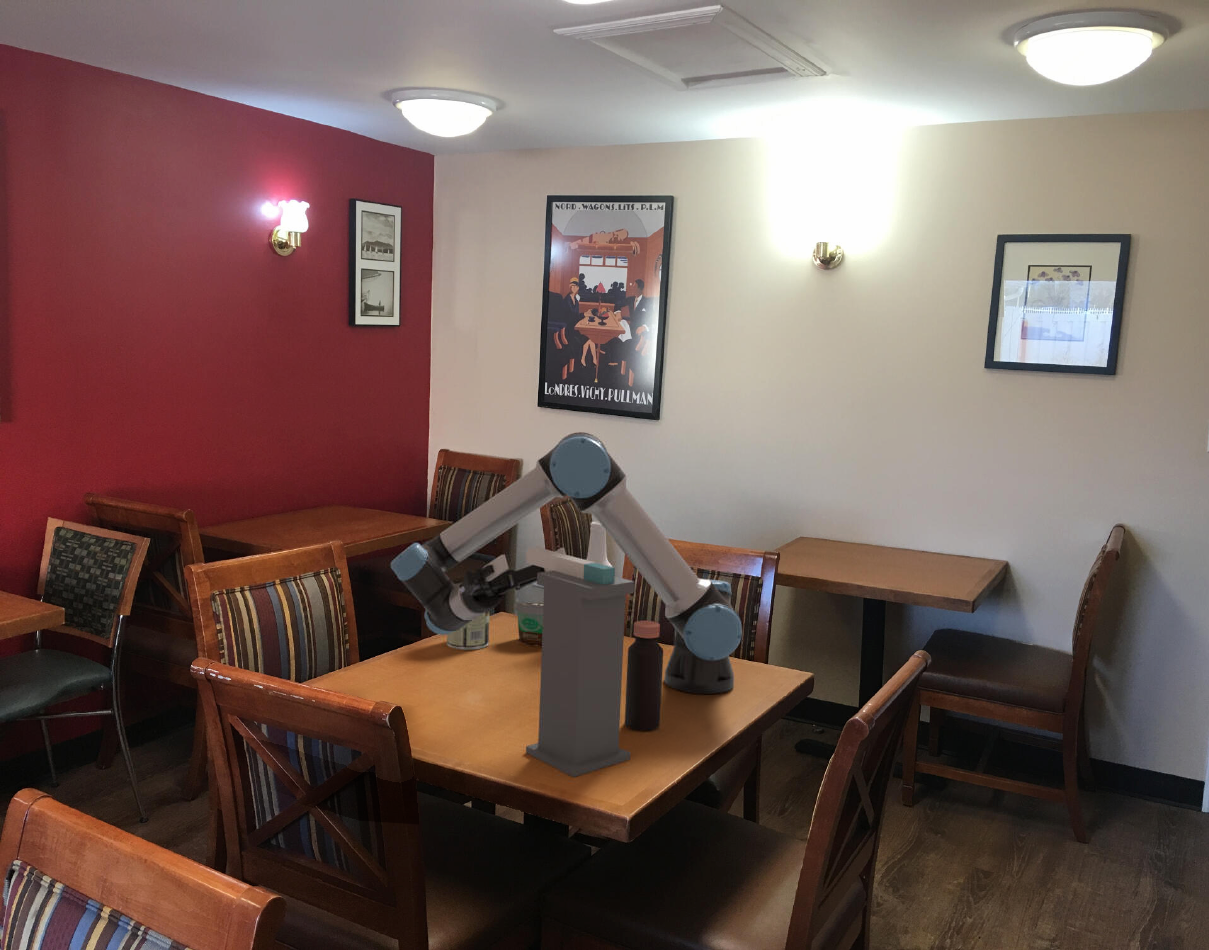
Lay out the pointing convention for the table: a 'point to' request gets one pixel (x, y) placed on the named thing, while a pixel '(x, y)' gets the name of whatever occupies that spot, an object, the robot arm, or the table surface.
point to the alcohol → (597, 544)
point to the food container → (530, 622)
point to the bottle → (644, 678)
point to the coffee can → (471, 634)
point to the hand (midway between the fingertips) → (535, 557)
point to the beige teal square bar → (571, 565)
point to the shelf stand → (581, 673)
